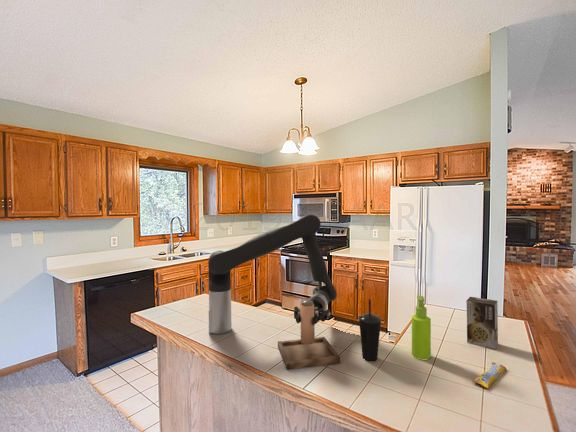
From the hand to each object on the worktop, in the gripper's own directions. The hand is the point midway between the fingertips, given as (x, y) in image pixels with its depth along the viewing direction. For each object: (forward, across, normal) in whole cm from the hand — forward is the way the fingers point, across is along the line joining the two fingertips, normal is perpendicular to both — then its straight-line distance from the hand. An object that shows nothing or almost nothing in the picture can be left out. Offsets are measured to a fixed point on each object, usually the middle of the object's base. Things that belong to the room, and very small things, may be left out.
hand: (305, 321), depth 99 cm
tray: (-2, 0, +13) cm, 13 cm away
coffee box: (-30, +60, +14) cm, 69 cm away
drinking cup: (-6, +21, +13) cm, 25 cm away
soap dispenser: (-14, +37, +13) cm, 42 cm away
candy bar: (-5, +55, +14) cm, 57 cm away
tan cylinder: (-3, 0, +8) cm, 8 cm away
